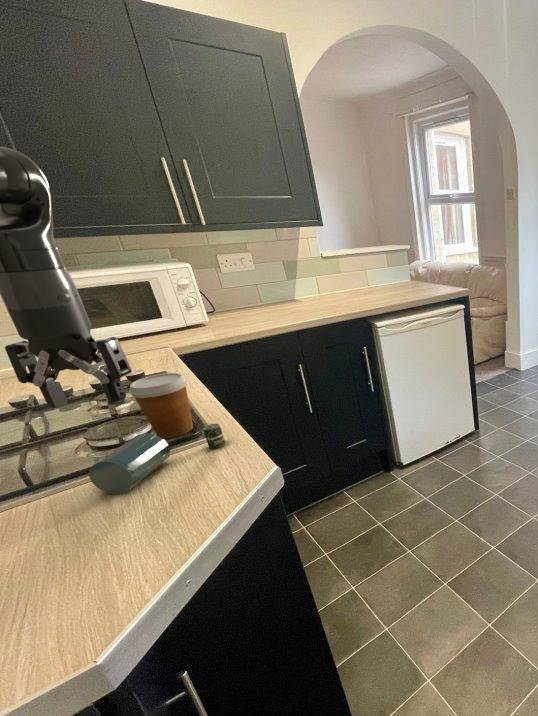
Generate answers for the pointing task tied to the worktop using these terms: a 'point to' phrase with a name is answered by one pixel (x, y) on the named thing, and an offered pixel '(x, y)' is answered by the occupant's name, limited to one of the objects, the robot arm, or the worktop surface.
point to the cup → (129, 463)
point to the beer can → (214, 436)
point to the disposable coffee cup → (164, 403)
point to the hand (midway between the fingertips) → (89, 404)
